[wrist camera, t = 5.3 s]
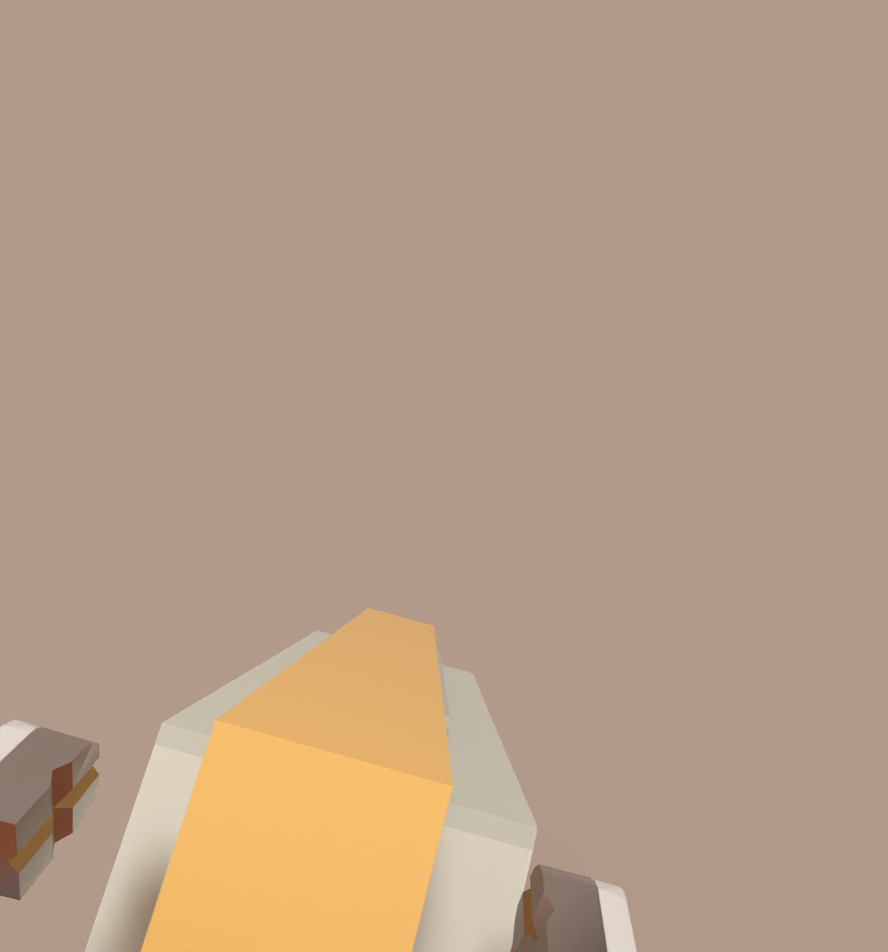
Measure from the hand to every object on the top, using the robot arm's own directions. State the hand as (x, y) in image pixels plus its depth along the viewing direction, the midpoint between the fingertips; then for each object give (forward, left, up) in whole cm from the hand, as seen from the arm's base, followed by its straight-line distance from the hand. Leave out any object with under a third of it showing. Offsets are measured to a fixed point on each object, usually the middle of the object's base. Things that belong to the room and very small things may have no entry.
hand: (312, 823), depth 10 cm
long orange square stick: (-9, -8, -1) cm, 12 cm away
